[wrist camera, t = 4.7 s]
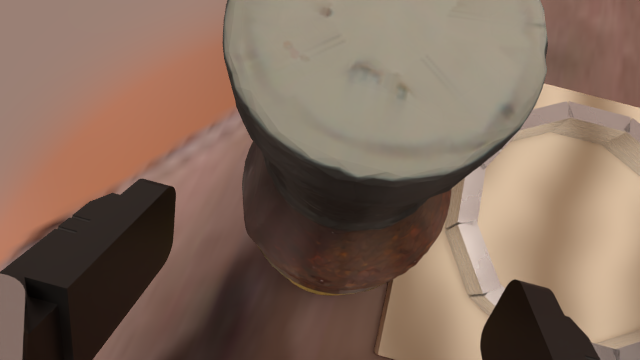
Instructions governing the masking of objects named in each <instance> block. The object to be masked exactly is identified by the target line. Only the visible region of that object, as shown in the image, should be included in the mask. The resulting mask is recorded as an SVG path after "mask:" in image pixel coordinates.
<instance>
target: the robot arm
mask: <svg viewBox="0 0 640 360" xmlns="http://www.w3.org/2000/svg"><path fill="white" fill-rule="evenodd" d="M175 201H176V192H175V189H174V187H172V186H168V185H164V184H161V183H157V182H153V181H149V180H146V179H139V180H138V181H136V182H135V183H134V184H133V185H132V186H130V187H129V188H128V189H127V190H126V191H125V192H123V193H122V194H121V195H118V194H115V193H111V194H108V195H106V196H103V197H101V198H98V199H96V200H93V201H90V202H89V203H87V204H86V205H85V206H84V207H82V208H81V209H80V210H78V211H77V212H76V213H75V214H73V217H72V218H68V219H67V220H66V221H64V222H63V223H62V224H61V225H59V227H58V229H54V230H53V231H52V232H50V233H49V234H48V235H47V236H45V237H44V238H43V239H42V240H40V241H39V242H38V243H36V244H35V245H34V246H33V247H31V248H30V249H29V250H28V251H26V252H25V253H24V254H22V255H21V256H20V257H19V258H17V259H16V260H15V261H14V262H12V263H11V264H10V265H8V266H7V267H6V268H5V269H3V270H2V271H1V272H0V360H93V358H94V357H95V356H96V354H97V353H98V352H99V350H100V349H101V348H102V346H103V345H104V344H105V342H106V341H107V340H108V338H109V337H110V336H111V334H112V333H113V332H114V330H115V329H116V328H117V326H118V325H119V324H120V322H121V321H122V320H123V318H124V317H125V316H126V315H127V313H128V312H129V311H130V309H131V308H132V307H133V305H134V304H135V303H136V301H137V300H138V299H139V297H140V296H141V295H142V293H143V292H144V291H145V289H146V288H147V287H148V285H149V284H150V283H151V281H152V280H153V279H154V277H155V276H156V275H157V273H158V272H159V271H160V269H161V268H162V267H163V265H164V264H165V262H166V260H167V258H168V256H169V254H170V251H171V248H172V243H173V233H174V217H175ZM480 351H481V356H482V360H600V358H599V356H598V354H597V352H596V350H595V348H594V347H593V345H592V343H591V341H590V339H589V337H588V336H587V335H586V334H585V333H584V332H583V331H582V330H581V329H580V328H579V327H578V326H577V324H576V323H575V322H574V321H573V320H572V319H571V318H570V317H568V316H565V315H564V313H563V311H562V309H561V307H560V305H559V303H558V301H557V299H556V297H555V295H554V293H553V292H552V291H551V289H549V288H546V287H542V286H539V285H535V284H531V283H527V282H524V281H520V280H516V279H515V280H512V281H511V282H509V284H508V285H507V286H506V288H505V290H504V292H503V293H502V295H501V297H500V299H499V301H498V302H497V304H496V306H495V308H494V309H493V311H492V313H491V315H490V316H489V318H488V320H487V322H486V323H485V325H484V328H483V330H482V334H481V340H480Z"/></svg>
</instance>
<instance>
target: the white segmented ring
mask: <svg viewBox="0 0 640 360" xmlns="http://www.w3.org/2000/svg"><path fill="white" fill-rule="evenodd" d="M549 132H553V133H556V134H560V135H564V136H568V137H572V138H576V139H580V140H583V141H587V142H591V143H595V144H599V145H602V146H603V147H604V148H606V149H607V150H608V151H609V152H611V153H612V154H613V155H614V156H616V157H617V158H618V159H619V160H620V161H622V162H623V163H624V164H625V165H627V166H628V167H629V168H630V169H632V170H633V171H634V172H635V173H636V174H638V175H639V176H640V123H639V122H637V121H636V120H635V119H633V118H632V119H631V117H629V116H625V115H621V114H617V113H613V112H609V111H605V110H602V109H598V108H594V107H590V106H586V105H582V104H578V103H574V102H570V101H569V102H567V101H566V102H561V103H557V104H553V105H549V106H545V107H541V108H536V109H533V110H532V112H531V113H530V115H529V117H528V118H527V120H526V121H525V123H524V124H523V126H522V127H521V129H520V130H519V131H518V132H517V133H516V134H515V135H514V136H513V137H512V138H511V139H510V140H509V141H508V142H507V143H506V144H505V145H504V146H503V148H502V149H501V150H499V151H498V152H497V153H496V154H494V155H493V156H492V157H491V158H489V159H488V160H487V161H486V162H484V163H483V164H482V165H481V166H480V167H478V168H477V169H476V170H474V171H473V172H472V173H470V174H469V175H468V176H466V177H465V178H464V179H463V180H461V181H460V182H459V183H458V184H456V185H455V186H454V187H453V188H452V190H451V200H450V205H449V209H448V215H447V218H446V224H445V229H446V230H447V231H445V233H446V236H447V239H448V242H449V245H450V247H451V250H452V253H453V256H454V259H455V261H456V264H457V267H458V270H459V273H460V276H461V278H462V281H463V284H464V287H465V290H466V292H467V295H470V297H469V298H470V299H471V300H472V301H473V302H474V303H475V304H477V305H478V306H479V307H480V308H481V309H482V310H483V311H484V312H485V313H486V314H487V315H488V316H490V315H491V313H492V311H493V309H494V308H495V306H496V304H497V302H498V301H499V299H500V297H501V295H502V293H503V292H504V290H505V288H504V287H503V286H502V285H501V284H500V282H499V279H498V277H497V274H496V271H495V269H494V266H493V263H492V261H491V258H490V255H489V253H488V250H487V247H486V245H485V242H484V240H483V237H482V234H481V232H480V229H479V226H478V224H477V223H478V216H479V210H480V203H481V197H482V190H483V184H484V177H485V171H486V167H487V166H488V165H489V164H490V163H491V162H492V161H493V160H494V158H495V157H496V156H497V155H498V154H499V153H500V152H501V151H502V150H503V149H504V148H505V146H506V145H507V144H508V143H509V142H513V141H517V140H521V139H525V138H529V137H533V136H537V135H541V134H545V133H549ZM592 345H593V347H594V348H595V350H596V352H597V354H598V356H599V358H600V360H640V329H639V330H636V331H633V332H629V333H626V334H623V335H620V336H617V337H614V338H611V339H608V340H604V341H601V342H598V343H592Z"/></svg>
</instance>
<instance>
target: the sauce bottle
mask: <svg viewBox="0 0 640 360" xmlns="http://www.w3.org/2000/svg"><path fill="white" fill-rule="evenodd" d="M547 47H548V42H547V32H546V24H545V16H544V8H543V6H542V4H541V2H540V0H228V1H227V4H226V11H225V17H224V26H223V52H224V59H225V63H226V67H227V71H228V74H229V78H230V82H231V86H232V90H233V93H234V97H235V101H236V107H237V109H238V111H239V114H240V116H241V118H242V120H243V123H244V125H245V127H246V129H247V131H248V133H249V135H250V137H251V139H252V140H253V143H252V145H251V147H250V149H249V152H248V155H247V158H246V161H245V167H244V173H243V181H242V191H243V208H244V220H245V226H246V230H247V233H248V235H249V236H250V237H251V238H252V240H253V241H254V242H255V243H256V244H257V245H258V247H259V249H260V250H261V252H262V253H263V255H264V256H265V257H266V259H267V260H268V261H269V262H270V263H271V265H272V266H273V267H275V268H276V269H277V270H278V271H279V272H280V273H281V274H282V275H284V276H285V277H286V278H287V279H289V280H290V281H291V282H292V283H293V284H295V285H297V286H298V287H300V288H302V289H304V290H306V291H309V292H312V293H315V294H320V295H344V294H354V293H359V292H364V291H368V290H371V289H374V288H376V287H378V286H380V285H382V284H384V283H386V282H389V281H391V280H393V279H395V278H396V277H397V276H400V275H402V274H404V273H406V272H407V271H408V270H409V269H410V268H412V267H413V266H415V265H417V263H418V262H419V260H420V259H421V258H422V257H423V256H424V255H425V254H426V253H427V252H428V251H429V249H430V247H431V246H432V245H433V244H434V242H435V241H436V239H437V238H438V236H439V235H440V233H441V232H442V228H443V225H444V223H445V220H446V218H447V215H448V209H449V205H450V200H451V189H452V188H453V187H454V186H455V185H456V184H458V183H459V182H460V181H461V180H463V179H464V178H465V177H466V176H468V175H469V174H470V173H472V172H473V171H474V170H476V169H477V168H478V167H480V166H481V165H482V164H483V163H484V162H486V161H487V160H488V159H489V158H491V157H492V156H493V155H494V154H496V153H497V152H498V151H499V150H501V149H502V148H503V146H504V145H505V144H506V143H507V142H508V141H509V140H510V139H511V138H512V137H513V136H514V135H515V134H516V133H517V132H518V131H519V130H520V129H521V127H522V126H523V124H524V123H525V121H526V120H527V118H528V117H529V115H530V113H531V112H532V110H533V108H534V107H535V105H536V103H537V100H538V98H539V95H540V93H541V91H542V88H543V84H544V80H545V76H546V72H547V67H546V53H547Z"/></svg>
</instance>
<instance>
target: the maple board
mask: <svg viewBox="0 0 640 360" xmlns="http://www.w3.org/2000/svg"><path fill="white" fill-rule="evenodd" d="M566 101H567V102H569V101H570V102H574V103H578V104H582V105H586V106H590V107H594V108H598V109H602V110H605V111H609V112H613V113H617V114H621V115H625V116H629V117H631V119H632V118H633V119H635V120H636V121H637V122H639V123H640V108H638V107H634V106H630V105H626V104H622V103H618V102H614V101H610V100H606V99H603V98H599V97H595V96H591V95H587V94H583V93H579V92H575V91H571V90H567V89H563V88H560V87H556V86H552V85H548V84H543V88H542V91H541V93H540V95H539V98H538V100H537V103H536V105H535V107H534V108H533V109H536V108H541V107H545V106H549V105H553V104H557V103H561V102H566ZM451 190H452V189H451ZM445 224H446V220H445V223H444V225H443V228H442V232H441V233H440V235H439V236H438V238H437V239H436V241H435V242H434V244H433V245H432V246H431V247H430V249H429V251H428V252H427V253H426V254H425V255H424V256H423V257H422V258H421V259H420V260H419V262H418V263H417V265H415V266H413V267H412V268H410V269H409V270H408V271H407V272H406V273H404V274H402V275H400V276H397V277H396V278H395V279H393V280H391V281H389V283H388V287H387V292H386V297H385V302H384V306H383V311H382V316H381V321H380V325H379V330H378V335H377V340H376V344H375V349H374V353H376V354H377V355H380V356H384V357H387V358H391V359H395V360H482V356H481V351H480V340H481V334H482V330H483V328H484V325H485V323H486V322H487V320H488V318H489V316H488V315H487V314H486V313H485V312H484V311H483V310H482V309H481V308H480V307H479V306H478V305H477V304H475V303H474V302H473V301H472V300H471V299H470V298H469V297H470V295H467V292H466V290H465V287H464V284H463V281H462V278H461V276H460V273H459V270H458V267H457V264H456V261H455V259H454V256H453V253H452V250H451V247H450V245H449V242H448V239H447V236H446V233H445V231H447V230H446V229H445ZM477 224H478V226H479V229H480V232H481V234H482V237H483V240H484V242H485V245H486V247H487V250H488V253H489V255H490V258H491V261H492V263H493V266H494V269H495V271H496V274H497V277H498V279H499V282H500V284H501V285H502V286H503V287H504V288H506V286H507V285H508V284H509V282H511V281H512V280H515V279H516V280H520V281H524V282H527V283H531V284H535V285H539V286H542V287H546V288H549V289H551V291H552V292H553V293H554V295H555V297H556V299H557V301H558V303H559V305H560V307H561V309H562V311H563V313H564V315H565V316H568V317H570V318H571V319H572V320H573V321H574V322H575V323H576V324H577V326H578V327H579V328H580V329H581V330H582V331H583V332H584V333H585V334H586V335H587V336H588V337H589V339H590V341H591V343H598V342H601V341H604V340H608V339H611V338H614V337H617V336H620V335H623V334H626V333H629V332H633V331H636V330H639V329H640V176H639V175H638V174H636V173H635V172H634V171H633V170H632V169H630V168H629V167H628V166H627V165H625V164H624V163H623V162H622V161H620V160H619V159H618V158H617V157H616V156H614V155H613V154H612V153H611V152H609V151H608V150H607V149H606V148H604V147H603V146H602V145H599V144H595V143H591V142H587V141H583V140H580V139H576V138H572V137H568V136H564V135H560V134H556V133H553V132H549V133H545V134H541V135H537V136H533V137H529V138H525V139H521V140H517V141H513V142H509V143H508V144H507V145H506V146H505V148H504V149H503V150H502V151H501V152H500V153H499V154H498V155H497V156H496V157H495V158H494V160H493V161H492V162H491V163H490V164H489V165H488V166H487V167H486V171H485V177H484V184H483V190H482V197H481V203H480V210H479V216H478V223H477Z"/></svg>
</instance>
